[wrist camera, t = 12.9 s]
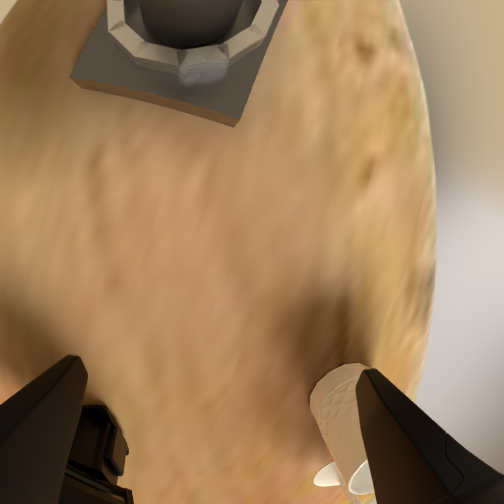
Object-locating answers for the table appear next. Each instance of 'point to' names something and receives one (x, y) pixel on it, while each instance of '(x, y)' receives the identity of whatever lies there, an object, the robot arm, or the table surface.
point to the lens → (188, 19)
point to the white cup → (343, 425)
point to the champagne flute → (334, 481)
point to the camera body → (178, 61)
